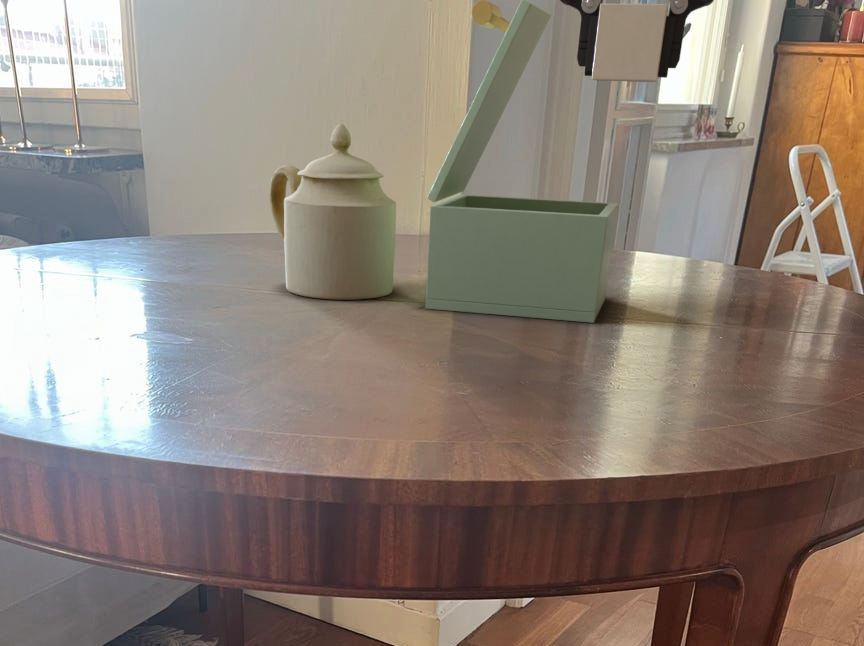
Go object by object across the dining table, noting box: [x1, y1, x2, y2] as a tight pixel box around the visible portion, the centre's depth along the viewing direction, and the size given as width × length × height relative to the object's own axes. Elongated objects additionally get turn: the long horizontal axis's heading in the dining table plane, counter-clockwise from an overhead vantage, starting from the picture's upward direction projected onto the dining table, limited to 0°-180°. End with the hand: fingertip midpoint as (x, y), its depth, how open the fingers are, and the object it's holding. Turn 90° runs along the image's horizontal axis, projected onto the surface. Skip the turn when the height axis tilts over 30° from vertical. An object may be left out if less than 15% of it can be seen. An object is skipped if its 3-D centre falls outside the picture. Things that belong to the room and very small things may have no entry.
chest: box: [425, 193, 619, 324], centre depth 91 cm, size 16×13×9 cm
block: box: [591, 3, 669, 83], centre depth 69 cm, size 5×5×5 cm
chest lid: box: [426, 0, 552, 203], centre depth 86 cm, size 17×13×5 cm
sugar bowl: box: [269, 122, 397, 301], centre depth 94 cm, size 15×11×15 cm
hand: (625, 75), depth 70 cm, fingers closed on block, 4 cm apart
